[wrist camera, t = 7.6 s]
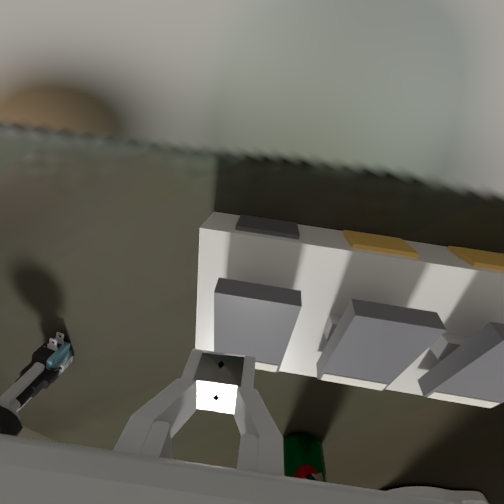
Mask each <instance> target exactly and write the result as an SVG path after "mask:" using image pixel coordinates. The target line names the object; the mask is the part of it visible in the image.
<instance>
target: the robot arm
mask: <svg viewBox="0 0 504 504" xmlns="http://www.w3.org/2000/svg"><path fill="white" fill-rule="evenodd" d="M255 360H256V358H255V357H251V356H245V357H244V355H236V354H228V353H219V352H213V351H207V350H200V349H192V351H191V353H190V356H189V358H188V361H187V363H186V366H185V369H184V371H183V374H182V376H181V379H180V378H177V379H176V380H175V381H173V382H172V383H171V384H170V385H168V386H167V387H166V388H165V389H163V390H162V391H161V392H160V393H158V394H157V395H156V396H155V397H154V398H152V399H151V400H150V401H149V402H147V403H146V404H145V405H144V406H142V407H141V408H140V409H139V410H137V411H136V412H135V413H134V414H132V415H131V417H130V419H129V421H128V423H127V425H126V426H125V428H124V430H123V432H122V434H121V436H120V438H119V440H118V442H117V444H116V446H115V448H114V450H107V449H100V448H94V447H87V446H80V445H74V444H67V443H60V442H53V441H47V440H40V439H33V438H27V437H20V436H14V435H7V434H0V504H489V503H488V501H487V500H486V498H485V497H484V495H483V494H482V493H481V492H478V491H452V490H446V489H441V488H435V487H424V486H413V487H402V488H396V489H391V490H388V491H381V490H375V489H368V488H361V487H354V486H348V485H341V484H334V483H328V482H321V481H314V480H308V479H301V478H294V477H287V476H284V453H283V437H282V435H281V433H280V432H279V430H278V428H277V426H276V424H275V422H274V421H273V419H272V417H271V415H270V413H269V411H268V410H267V408H266V406H265V404H264V402H263V400H262V399H261V397H260V395H259V393H258V391H257V389H253V385H254V373H255ZM196 409H202V410H211V411H218V412H224V413H230V414H234V417H235V420H236V422H237V425H238V428H239V431H240V433H241V439H240V446H239V454H238V461H237V468H236V469H234V468H228V467H221V466H214V465H208V464H201V463H194V462H187V461H181V460H174V459H172V448H171V438H172V437H173V436H174V435H175V434H176V433H177V431H178V430H179V429H180V428H181V427H182V426H183V425H184V423H185V422H186V421H187V420H188V419H189V418H190V417H191V415H192V414H193V413H194V412H195V411H196Z"/></svg>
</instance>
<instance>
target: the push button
mask: <svg viewBox="0 0 504 504" xmlns="http://www.w3.org/2000/svg"><path fill="white" fill-rule="evenodd" d="M58 335H60V336H61V337H59V336H58ZM63 338H64V334H62V333H60V332H56V338H54V339H53V338H50V339H49V344H46V343H45V344H43V345H42V346H41V347H40V348H39V349H38V350H36V351H35V352H34V353H33V355H32V361H31V363H30V364H29V365H28V366H26V367H25V368H24V369H23V370H22V371H21V372H20V377H19V378H18V379H17V380H16V381H15V383H14V384H13V385H12V386H11V387H10V388H9V389H8V390H7V391H6V392H5V393H4V394H3V395H1V396H0V434H7V435H14V436H17V435H18V434H19V433H20V432H21V430H22V428H23V427H22V425H21V423H20V420H21V419H20V416H19V414H18V411H19V410H20V409H21V408H22V407H23V406H24V405H25V404H26V403H27V402H28V401H29V400H30V399H31V397H35V396H36V394H37V393H38V392H39V391H40V390H41V389H42V388H45V389H47V388H48V387H49V386H50V385H51V384H52V383H53V382H54V381H55V380H56V379H57V378H58V376H59V375H60V374H61V373H62V372H63V371H64V370H65V369H66V368H67V367H68V365H69V364H70V363H71V362H72V360H73V356H72V357H71V358H70V359H69V360H68V356H69V350H70V343H67V342H65V341H63ZM69 361H70V362H69ZM68 362H69V363H68Z"/></svg>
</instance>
